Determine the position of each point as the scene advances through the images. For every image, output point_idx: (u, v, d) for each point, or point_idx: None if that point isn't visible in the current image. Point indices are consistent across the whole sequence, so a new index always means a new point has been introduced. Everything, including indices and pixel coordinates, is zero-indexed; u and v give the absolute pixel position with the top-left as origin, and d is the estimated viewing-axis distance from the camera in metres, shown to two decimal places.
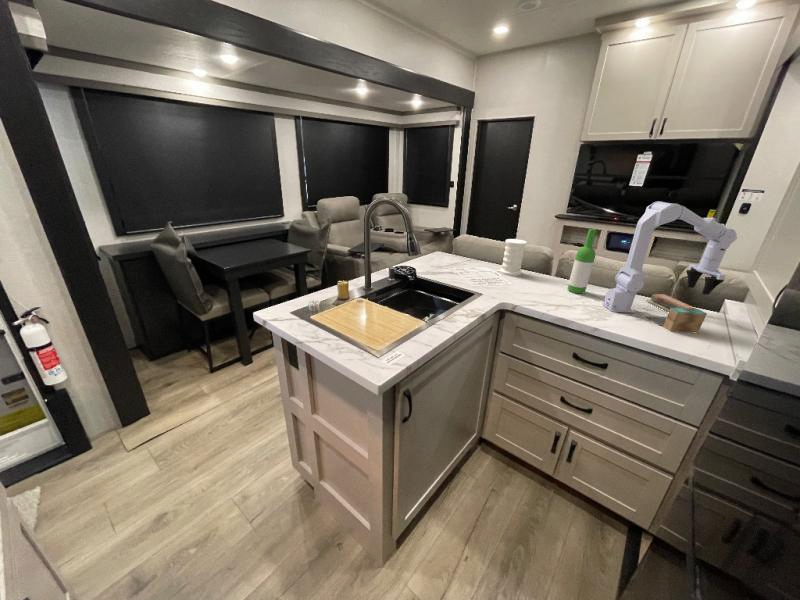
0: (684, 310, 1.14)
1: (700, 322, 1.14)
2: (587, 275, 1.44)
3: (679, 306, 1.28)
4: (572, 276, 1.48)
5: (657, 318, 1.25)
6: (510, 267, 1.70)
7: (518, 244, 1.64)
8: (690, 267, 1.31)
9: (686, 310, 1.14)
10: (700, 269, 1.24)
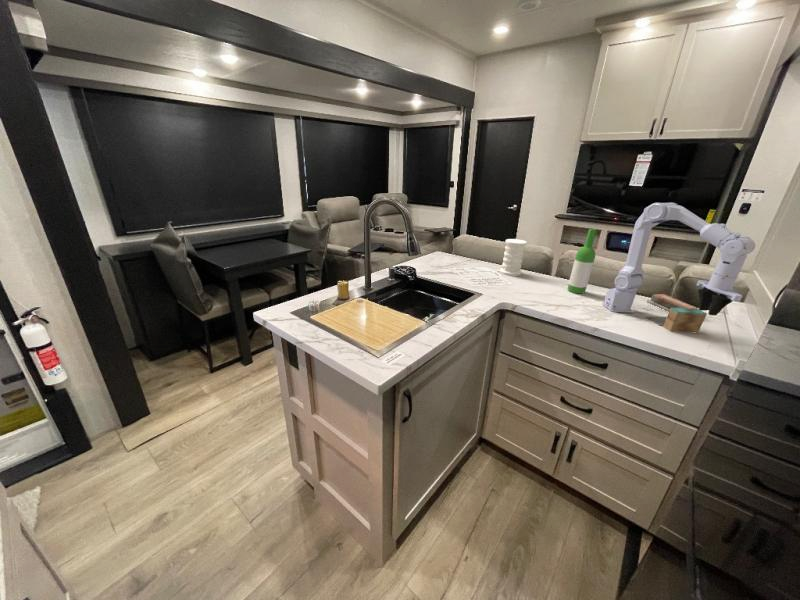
0: (684, 310, 1.14)
1: (700, 322, 1.14)
2: (587, 275, 1.44)
3: (681, 306, 1.28)
4: (572, 276, 1.48)
5: (657, 318, 1.25)
6: (510, 267, 1.70)
7: (518, 244, 1.64)
8: (698, 284, 1.09)
9: (686, 310, 1.14)
10: (711, 287, 1.03)
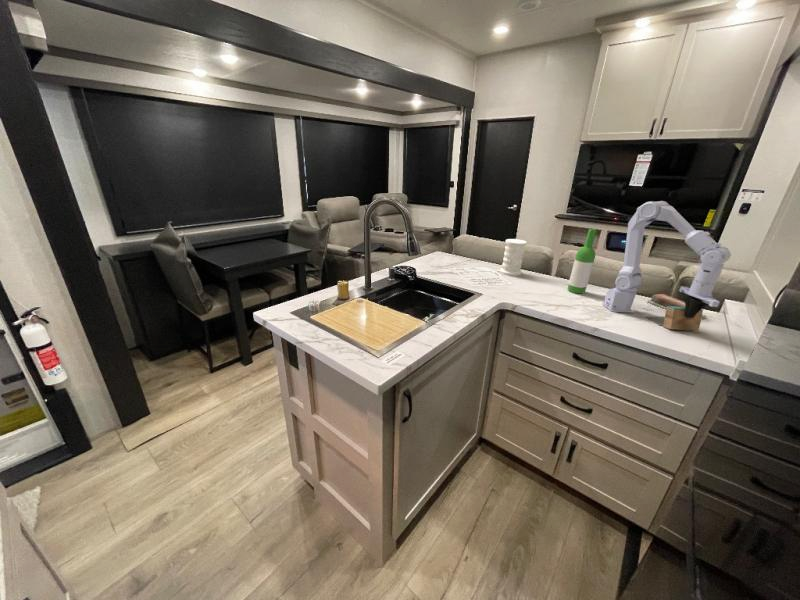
0: (680, 307, 1.16)
1: (698, 319, 1.14)
2: (587, 275, 1.44)
3: (684, 306, 1.28)
4: (572, 276, 1.48)
5: (657, 318, 1.25)
6: (510, 267, 1.70)
7: (518, 244, 1.64)
8: (681, 290, 1.17)
9: (682, 307, 1.16)
10: (691, 293, 1.10)
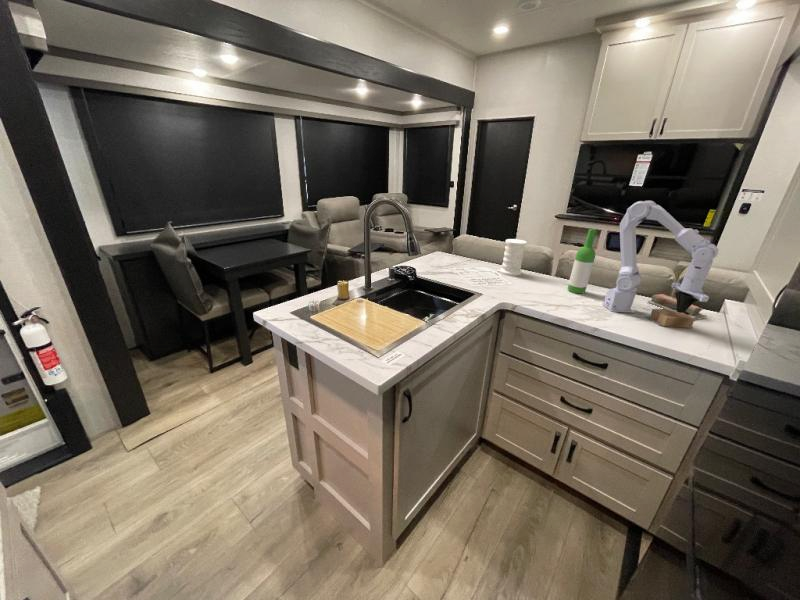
0: None
1: (684, 314, 1.21)
2: (587, 275, 1.44)
3: None
4: (572, 276, 1.48)
5: None
6: (510, 267, 1.70)
7: (518, 244, 1.64)
8: (672, 286, 1.20)
9: None
10: (682, 289, 1.14)
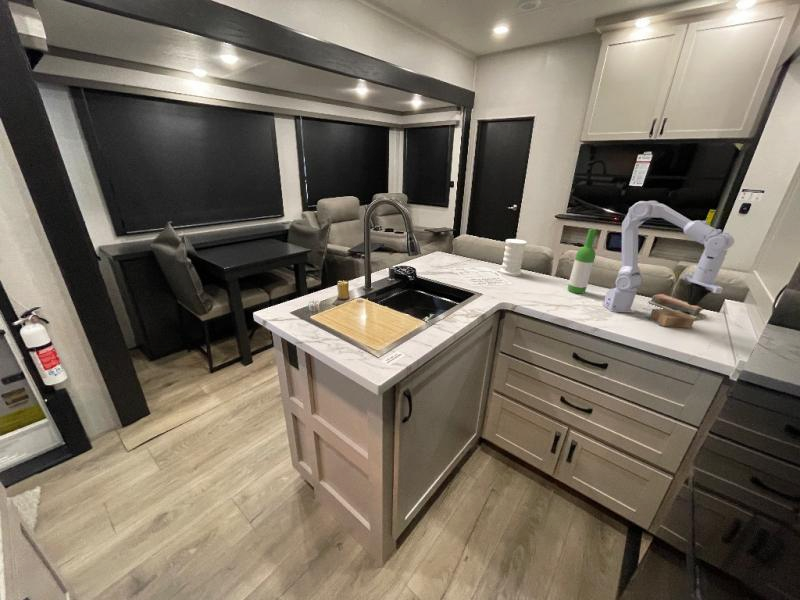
0: None
1: (684, 314, 1.21)
2: (587, 275, 1.44)
3: (686, 306, 1.28)
4: (572, 276, 1.48)
5: None
6: (510, 267, 1.70)
7: (518, 244, 1.64)
8: (684, 278, 1.16)
9: None
10: (694, 281, 1.09)
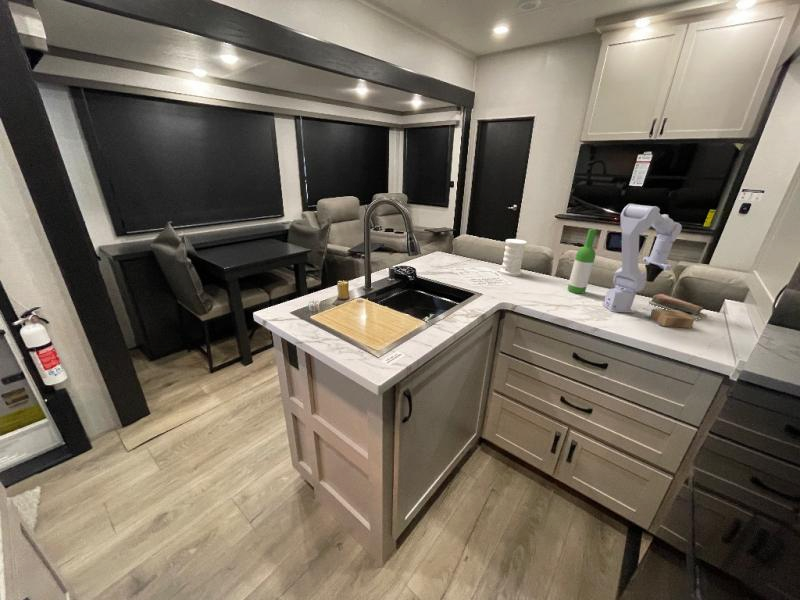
0: None
1: (684, 314, 1.21)
2: (587, 275, 1.44)
3: (688, 306, 1.28)
4: (572, 276, 1.48)
5: None
6: (510, 267, 1.70)
7: (518, 244, 1.64)
8: (643, 259, 1.39)
9: None
10: (650, 261, 1.32)
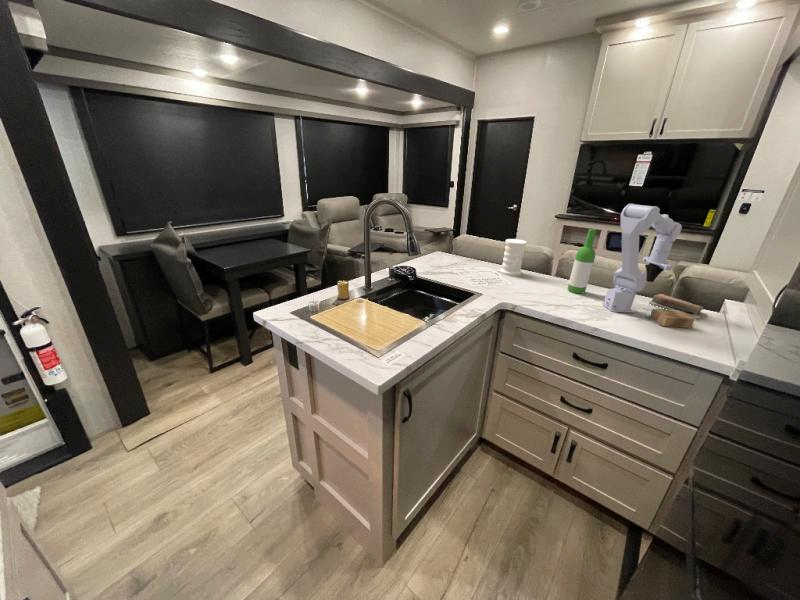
0: None
1: (684, 314, 1.21)
2: (587, 275, 1.44)
3: (689, 306, 1.28)
4: (572, 276, 1.48)
5: None
6: (510, 267, 1.70)
7: (518, 244, 1.64)
8: (643, 259, 1.39)
9: None
10: (650, 261, 1.32)
